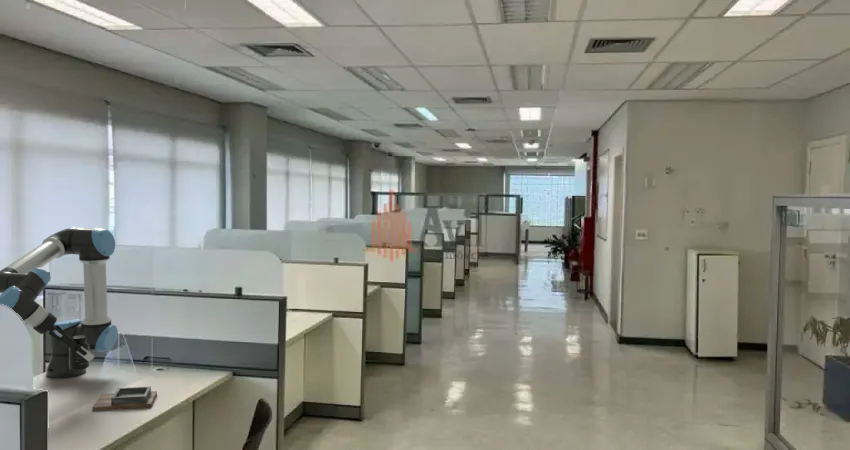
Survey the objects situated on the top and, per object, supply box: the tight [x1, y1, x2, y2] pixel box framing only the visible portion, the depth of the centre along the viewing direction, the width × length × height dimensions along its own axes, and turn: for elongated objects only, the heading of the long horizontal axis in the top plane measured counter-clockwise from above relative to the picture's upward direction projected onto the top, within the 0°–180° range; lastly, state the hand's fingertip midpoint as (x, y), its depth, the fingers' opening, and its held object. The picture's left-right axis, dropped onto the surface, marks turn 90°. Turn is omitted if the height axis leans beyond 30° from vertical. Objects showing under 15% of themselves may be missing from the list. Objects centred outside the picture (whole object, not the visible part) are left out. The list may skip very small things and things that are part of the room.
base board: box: [91, 386, 158, 412], centre depth 239 cm, size 15×20×4 cm
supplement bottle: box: [69, 335, 90, 370], centre depth 236 cm, size 7×7×12 cm
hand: (89, 356), depth 239 cm, fingers closed on supplement bottle, 7 cm apart
